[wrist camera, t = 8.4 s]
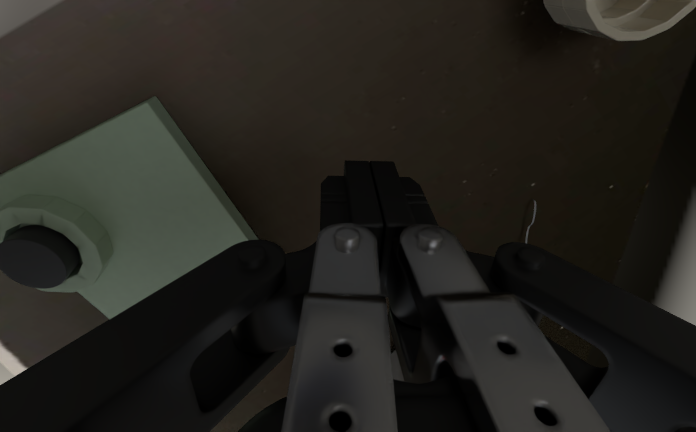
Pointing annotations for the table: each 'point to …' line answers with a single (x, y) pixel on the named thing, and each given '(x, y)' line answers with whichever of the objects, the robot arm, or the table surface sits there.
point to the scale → (124, 206)
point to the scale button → (38, 257)
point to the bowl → (619, 16)
